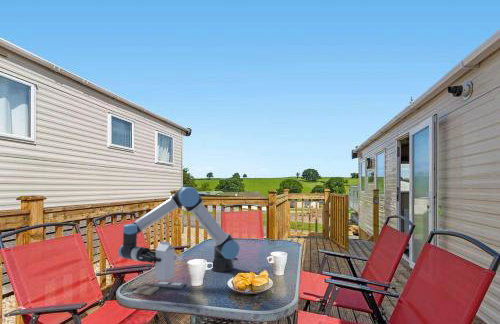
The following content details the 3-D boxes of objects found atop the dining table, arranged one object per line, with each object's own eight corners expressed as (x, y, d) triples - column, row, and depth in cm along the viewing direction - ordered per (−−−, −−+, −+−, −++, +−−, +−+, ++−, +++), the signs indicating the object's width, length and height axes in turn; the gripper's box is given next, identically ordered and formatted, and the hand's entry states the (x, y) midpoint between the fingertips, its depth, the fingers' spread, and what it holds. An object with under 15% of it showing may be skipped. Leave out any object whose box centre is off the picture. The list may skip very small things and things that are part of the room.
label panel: (186, 284, 177) (186, 281, 177) (180, 289, 168) (180, 286, 168) (160, 282, 180) (160, 280, 180) (152, 287, 171) (153, 285, 171)
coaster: (159, 288, 170) (159, 286, 170) (150, 294, 160) (150, 293, 160) (142, 287, 171) (142, 285, 171) (132, 293, 161) (132, 291, 161)
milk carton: (164, 281, 160) (165, 243, 161) (154, 278, 163) (155, 242, 165) (174, 277, 166) (175, 241, 167) (164, 275, 169) (165, 240, 171)
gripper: (154, 257, 182) (184, 262, 171) (126, 264, 165) (157, 271, 154) (155, 244, 183) (184, 248, 172) (126, 250, 165) (157, 255, 154)
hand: (171, 259), depth 163 cm, fingers closed on milk carton, 7 cm apart
